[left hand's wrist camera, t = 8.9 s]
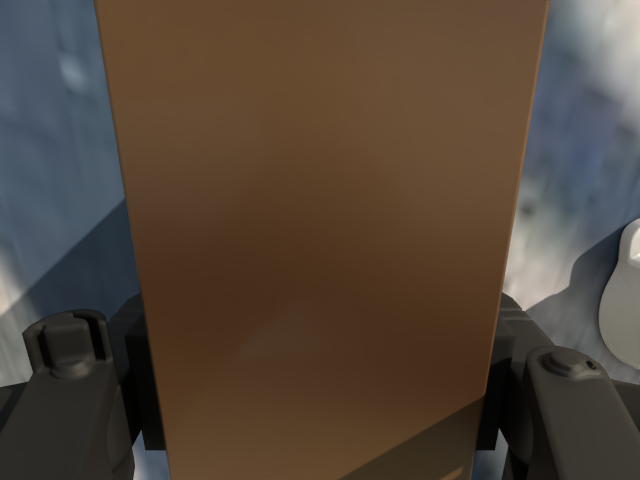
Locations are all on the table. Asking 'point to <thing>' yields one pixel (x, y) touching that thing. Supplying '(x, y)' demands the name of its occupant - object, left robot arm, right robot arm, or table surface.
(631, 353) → the right robot arm
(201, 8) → the post
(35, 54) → the table surface
